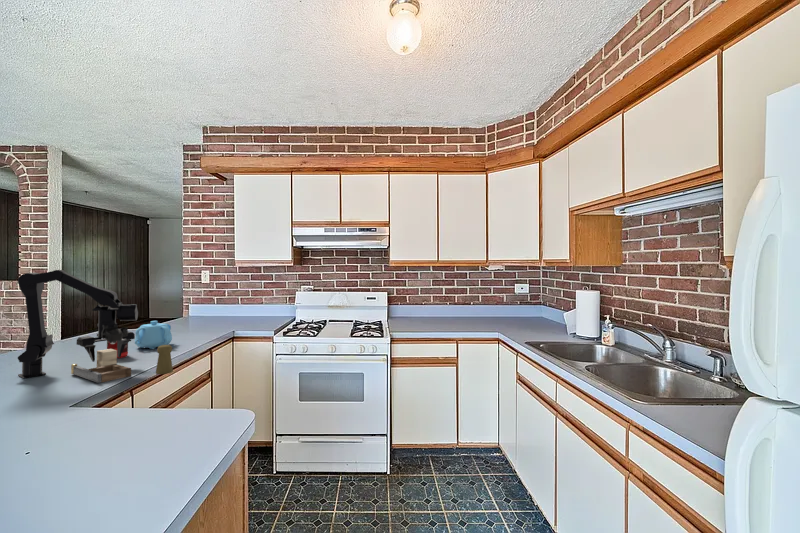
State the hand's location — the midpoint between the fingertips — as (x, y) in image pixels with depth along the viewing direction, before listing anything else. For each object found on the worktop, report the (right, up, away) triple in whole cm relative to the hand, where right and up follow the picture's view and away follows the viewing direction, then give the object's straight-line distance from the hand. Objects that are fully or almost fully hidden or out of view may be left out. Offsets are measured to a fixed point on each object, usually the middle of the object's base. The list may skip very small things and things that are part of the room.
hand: (106, 359), depth 160 cm
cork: (+25, -5, -1) cm, 25 cm away
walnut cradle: (+7, -5, -10) cm, 13 cm away
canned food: (-11, -4, +21) cm, 24 cm away
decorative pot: (-8, -4, +44) cm, 45 cm away
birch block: (0, -5, 0) cm, 5 cm away
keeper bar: (+1, -4, -12) cm, 13 cm away
